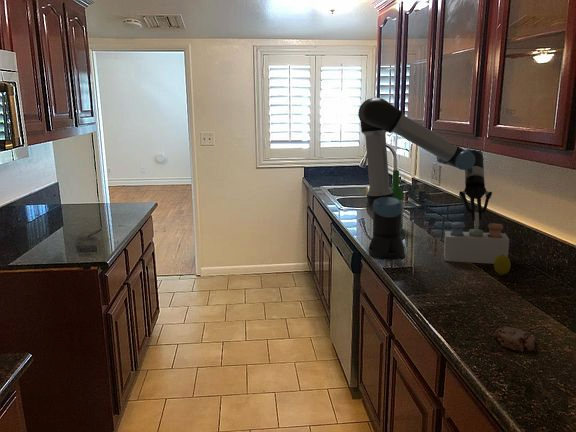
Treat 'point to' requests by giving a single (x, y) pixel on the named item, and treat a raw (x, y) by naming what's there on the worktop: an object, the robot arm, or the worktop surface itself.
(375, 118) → the robot arm
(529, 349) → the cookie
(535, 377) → the worktop surface
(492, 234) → the button terracotta
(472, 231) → the button green
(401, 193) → the wine bottle
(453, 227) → the button blue
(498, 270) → the lemon
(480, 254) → the console
